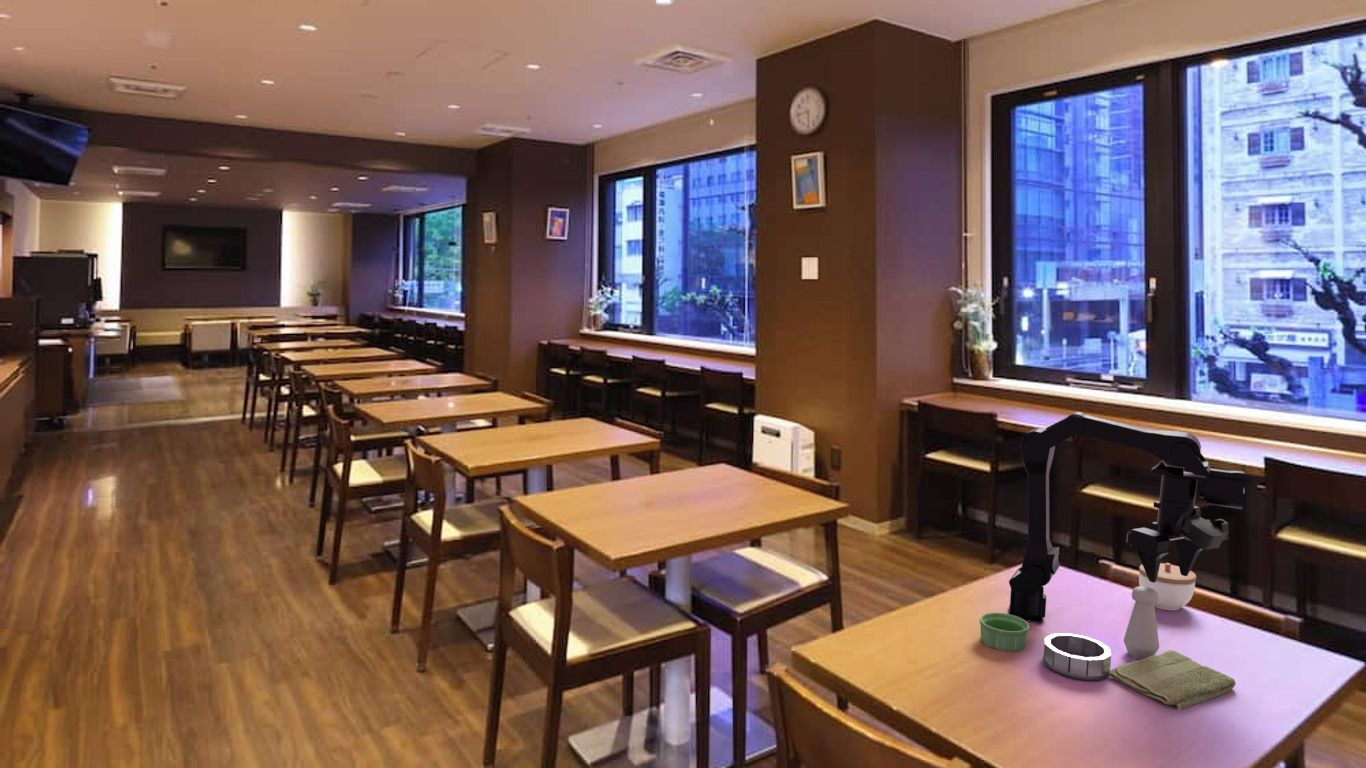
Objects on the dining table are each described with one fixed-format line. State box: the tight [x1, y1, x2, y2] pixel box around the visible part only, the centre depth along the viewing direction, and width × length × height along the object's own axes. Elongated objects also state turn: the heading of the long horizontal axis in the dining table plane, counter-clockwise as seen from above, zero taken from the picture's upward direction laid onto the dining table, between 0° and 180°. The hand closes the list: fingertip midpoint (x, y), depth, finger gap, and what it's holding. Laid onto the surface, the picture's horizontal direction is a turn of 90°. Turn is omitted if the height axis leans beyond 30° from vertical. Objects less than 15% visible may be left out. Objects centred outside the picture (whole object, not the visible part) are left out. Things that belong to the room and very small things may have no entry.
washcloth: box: [1108, 649, 1237, 711], centre depth 142 cm, size 13×18×3 cm
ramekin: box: [979, 612, 1030, 653], centre depth 158 cm, size 9×9×4 cm
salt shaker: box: [1123, 585, 1160, 660], centre depth 152 cm, size 6×6×13 cm
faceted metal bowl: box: [1042, 632, 1112, 683], centre depth 148 cm, size 11×11×4 cm
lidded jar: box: [1138, 562, 1197, 612], centre depth 177 cm, size 11×11×9 cm
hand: (1168, 578), depth 156 cm, fingers open, 9 cm apart
